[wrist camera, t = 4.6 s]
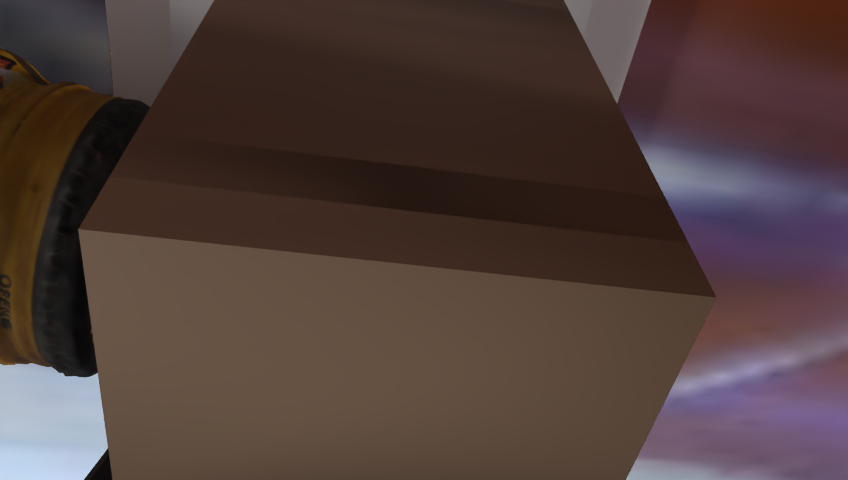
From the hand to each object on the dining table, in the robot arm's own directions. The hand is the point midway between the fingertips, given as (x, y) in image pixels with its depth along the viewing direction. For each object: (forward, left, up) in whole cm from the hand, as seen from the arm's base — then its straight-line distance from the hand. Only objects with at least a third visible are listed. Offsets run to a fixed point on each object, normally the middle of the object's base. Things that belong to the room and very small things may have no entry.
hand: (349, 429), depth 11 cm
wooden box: (0, 0, -2) cm, 2 cm away
